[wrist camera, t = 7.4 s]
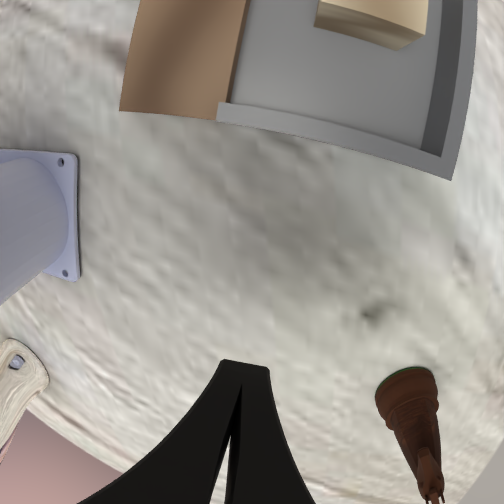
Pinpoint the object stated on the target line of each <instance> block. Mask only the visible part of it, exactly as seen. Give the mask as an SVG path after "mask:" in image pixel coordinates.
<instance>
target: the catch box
mask: <svg viewBox="0 0 504 504" xmlns="http://www.w3.org/2000/svg"><path fill="white" fill-rule="evenodd" d="M317 6H318V0H251V1H250V6H249V10H248V15H247V20H246V24H245V29H244V34H243V38H242V43H241V48H240V53H239V58H238V63H237V68H236V73H235V79H234V84H233V89H232V95H231V100H230V103H224V102H219V104H218V110H217V116H216V122H222V123H229V124H235V125H241V126H247V127H253V128H259V129H264V130H269V131H275V132H280V133H285V134H289V135H294V136H299V137H303V138H308V139H312V140H316V141H321V142H325V143H329V144H333V145H337V146H341V147H345V148H349V149H352V150H356V151H360V152H363V153H367V154H370V155H374V156H377V157H381V158H384V159H387V160H391V161H394V162H397V163H400V164H403V165H406V166H409V167H412V168H415V169H418V170H421V171H424V172H427V173H430V174H433V175H436V176H438V177H441V178H444V179H447V180H449V181H451V180H452V176H453V173H454V169H455V165H456V161H457V157H458V153H459V148H460V144H461V139H462V135H463V130H464V125H465V120H466V115H467V109H468V103H469V97H470V90H471V83H472V76H473V67H474V58H475V47H476V32H477V0H429V1H428V12H427V22H426V31H425V35H424V36H422V37H421V38H419V39H417V40H415V41H413V42H412V43H410V44H408V45H406V46H404V47H403V48H401V49H399V50H397V51H395V50H392V49H389V48H386V47H383V46H380V45H377V44H374V43H371V42H368V41H365V40H361V39H358V38H355V37H351V36H348V35H344V34H340V33H336V32H333V31H329V30H324V29H320V28H316V27H313V26H314V21H315V16H316V11H317Z"/></svg>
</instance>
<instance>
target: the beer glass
mask: <svg viewBox="0 0 504 504" xmlns="http://www.w3.org/2000/svg"><path fill="white" fill-rule="evenodd" d="M48 384H49V376H48V373H47V371H46V369H45V367H44V366H43V364H42V363H41V361H40V360H39V359H38V357H37V356H36V355H35V354H34V353H33V352H32V351H31V350H30V349H29V348H28V347H26V346H25V345H24V344H22V343H21V342H19V341H17V340H15V339H6V340H5V341H4V342H3V344H2V345H1V347H0V464H1V462H2V461H3V459H4V457H5V455H6V453H7V450H8V448H9V446H10V444H11V441H12V438H13V436H14V434H15V431H16V429H17V426H18V424H19V421H20V419H21V417H22V415H23V413H24V411H25V409H26V408H27V406H28V405H29V403H30V402H31V401H32V400H33V399H34V398H35V397H36V396H37V395H38V394H39V393H41V392H42V391H43V390H44V389H45V388H46V387H47V386H48Z"/></svg>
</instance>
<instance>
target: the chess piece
mask: <svg viewBox="0 0 504 504" xmlns="http://www.w3.org/2000/svg"><path fill="white" fill-rule="evenodd" d="M437 396H438V390H437V386H436V383H435V379H434V376H433V375H432V373H431V372H430V371H428V370H426V369H424V368H418V367H415V368H408V369H404V370H401V371H399V372H396V373H394V374H393V375H391V376H390V377H388V378H387V379H386V380H385V381H383V382H382V384H381V385H380V386H379V387H378V389H377V392H376V395H375V402H376V406H377V408H378V411H379V414H380V415H381V417H382V418H383V419H384V420H385V421H386V426H387V427H388V428H389V429H390V430H393V431H394V433H395V436H396V439H397V441H398V443H399V445H400V447H401V450H402V452H403V454H404V456H405V458H406V460H407V462H408V464H409V466H410V468H411V470H412V472H413V474H414V476H415V478H416V480H417V484H418V489H419V492H420V494H421V496H422V498H423V499H424V500H426V504H429V503H428V501H431V503H432V504H439V499H438V497H440V496H441V499H442V502H443V503H445V500H444V496H443V492H444V477H443V474H442V471H441V444H440V434H439V426H438V420H437V415H436V412H437V410H438V408H439V402H438V400H437Z"/></svg>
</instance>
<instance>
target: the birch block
mask: <svg viewBox="0 0 504 504" xmlns="http://www.w3.org/2000/svg"><path fill="white" fill-rule="evenodd" d="M428 1H429V0H318V6H317V11H316V16H315V21H314V26H313V27H316V28H320V29H324V30H329V31H333V32H336V33H340V34H344V35H348V36H351V37H355V38H358V39H361V40H365V41H368V42H371V43H374V44H377V45H380V46H383V47H386V48H389V49H392V50H395V51H397V50H399V49H401V48H403V47H404V46H406V45H408V44H410V43H412V42H413V41H415V40H417V39H419V38H421V37H422V36H424V35H425V31H426V22H427V12H428Z"/></svg>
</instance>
